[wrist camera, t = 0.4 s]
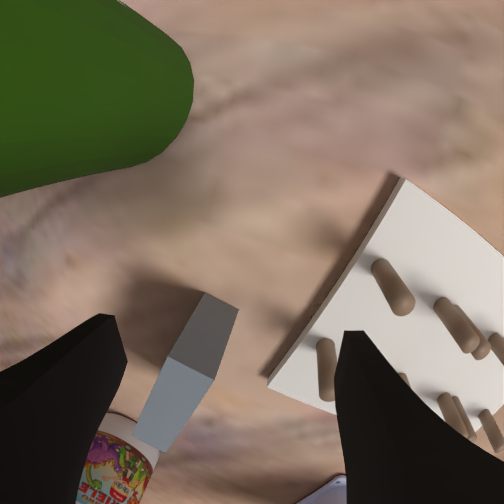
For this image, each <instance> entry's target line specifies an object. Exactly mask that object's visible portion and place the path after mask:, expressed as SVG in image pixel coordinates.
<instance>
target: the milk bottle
mask: <svg viewBox="0 0 504 504" xmlns="http://www.w3.org/2000/svg"><path fill="white" fill-rule="evenodd" d="M136 424H137V423H136V422H134V421H132V420H130V419H128V418H126V417H123V416H121V415H117V414H114V413H106V414H105V416H104V418H103V420H102V422H101V424H100V427H99V429H98V431H97V433H96V435H95V437H94V439H93V442H92V444H91V447H90V450H89V453H88V456H87V459H86V462H85V465H84V469H83V473H82V476H81V480H80V484H79V488H78V493H77V499H76V504H139V503H140V500H141V498H142V496H143V493H144V491H145V489H146V487H147V484H148V482H149V480H150V477H151V475H152V472H153V470H154V468H155V465H156V463H157V460H158V458H159V455H160V451H159V450H158V449H156V448H154V447H152V446H150V445H148V444H146V443H144V442H142V441H140V440H138V439H137V438H135V437H133V436H131V435H132V433H133V431H134V428H135V426H136Z"/></svg>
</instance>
